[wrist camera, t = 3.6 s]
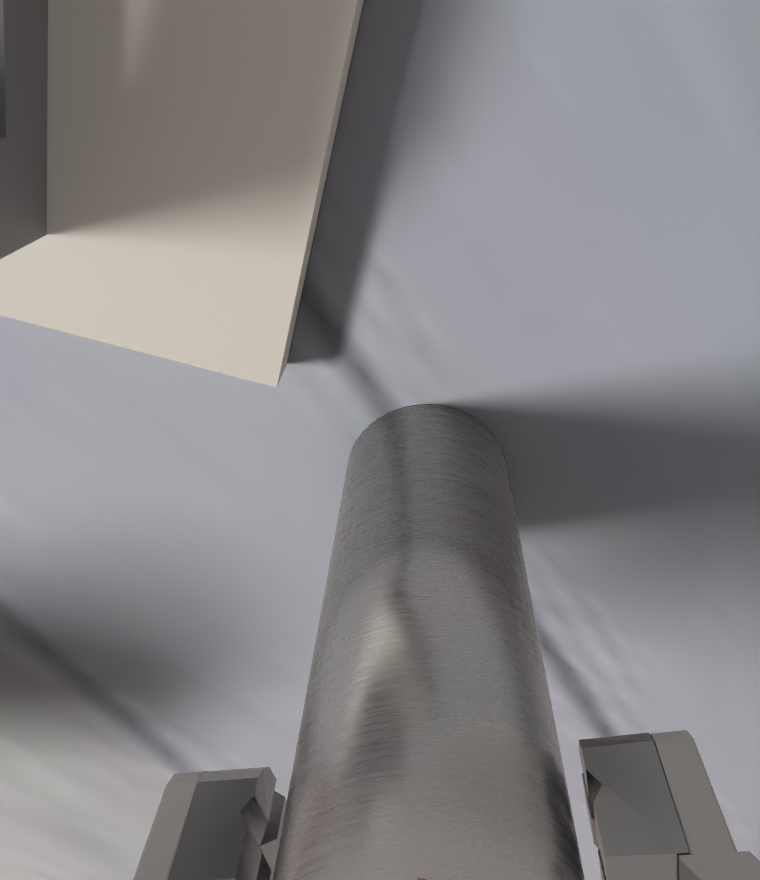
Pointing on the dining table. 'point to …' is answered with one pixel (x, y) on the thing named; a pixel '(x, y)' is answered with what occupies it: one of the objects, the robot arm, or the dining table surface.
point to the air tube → (427, 677)
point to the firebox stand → (168, 169)
